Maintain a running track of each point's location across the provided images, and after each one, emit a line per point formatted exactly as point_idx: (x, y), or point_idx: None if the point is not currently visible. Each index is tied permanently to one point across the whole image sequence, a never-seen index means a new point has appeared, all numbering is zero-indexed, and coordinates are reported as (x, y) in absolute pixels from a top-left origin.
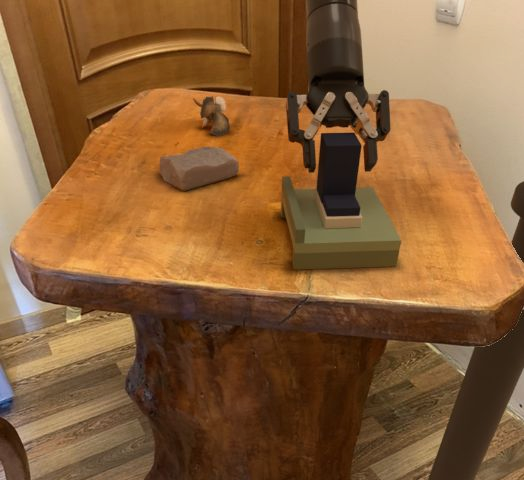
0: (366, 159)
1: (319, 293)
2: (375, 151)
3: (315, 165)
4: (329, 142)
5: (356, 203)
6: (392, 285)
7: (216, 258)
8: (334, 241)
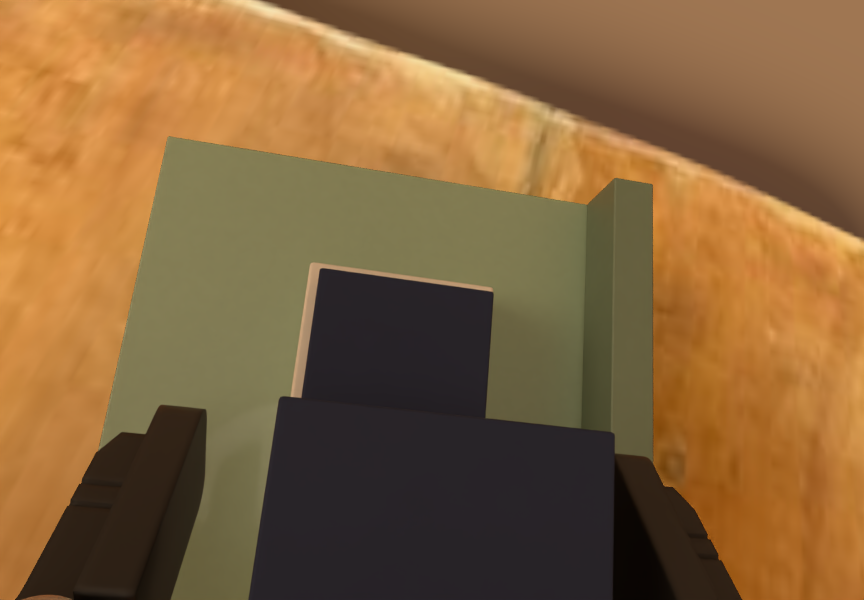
0: (184, 502)
1: (515, 110)
2: (85, 508)
3: (615, 455)
4: (576, 510)
5: (325, 316)
6: (260, 91)
7: (819, 374)
8: (464, 191)
